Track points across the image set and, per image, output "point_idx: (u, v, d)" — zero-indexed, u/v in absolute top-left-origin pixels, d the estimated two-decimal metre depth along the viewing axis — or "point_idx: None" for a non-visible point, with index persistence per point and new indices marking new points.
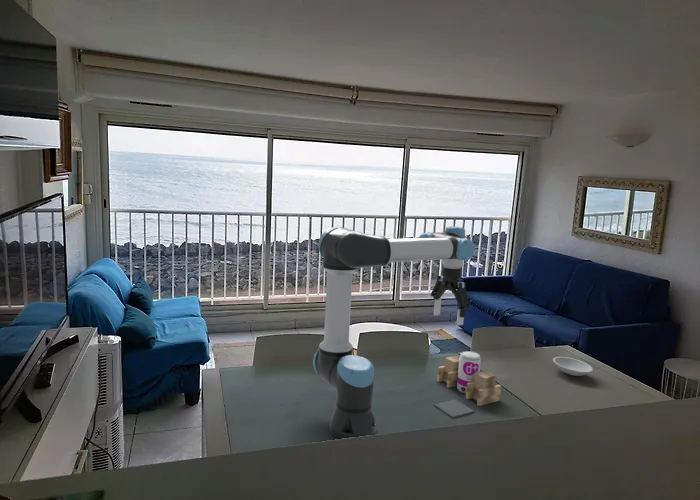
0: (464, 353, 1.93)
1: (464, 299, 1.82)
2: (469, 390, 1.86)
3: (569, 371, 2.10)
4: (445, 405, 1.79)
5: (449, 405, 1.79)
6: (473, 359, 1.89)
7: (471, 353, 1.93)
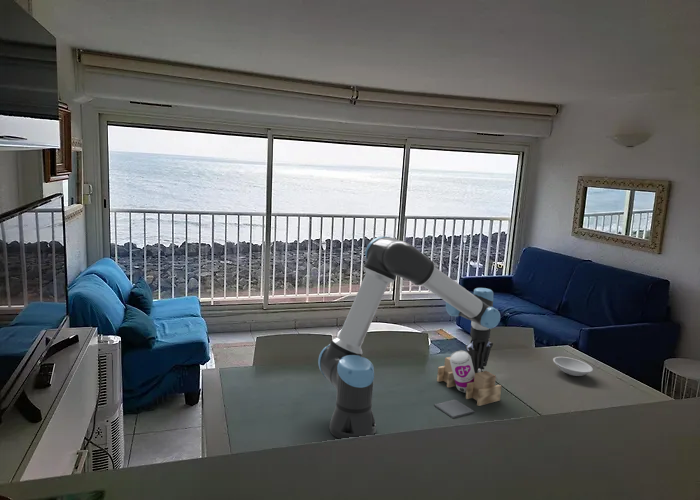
0: (453, 356, 1.90)
1: None
2: (469, 390, 1.86)
3: (569, 371, 2.10)
4: (445, 405, 1.79)
5: (449, 405, 1.79)
6: (462, 362, 1.85)
7: (460, 354, 1.90)
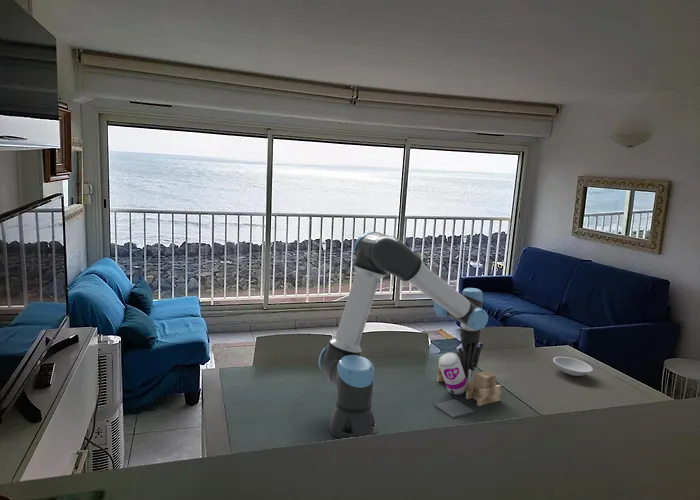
0: (442, 358, 1.87)
1: None
2: (469, 390, 1.86)
3: (569, 371, 2.10)
4: (445, 405, 1.79)
5: (449, 405, 1.79)
6: (450, 365, 1.83)
7: (448, 356, 1.87)
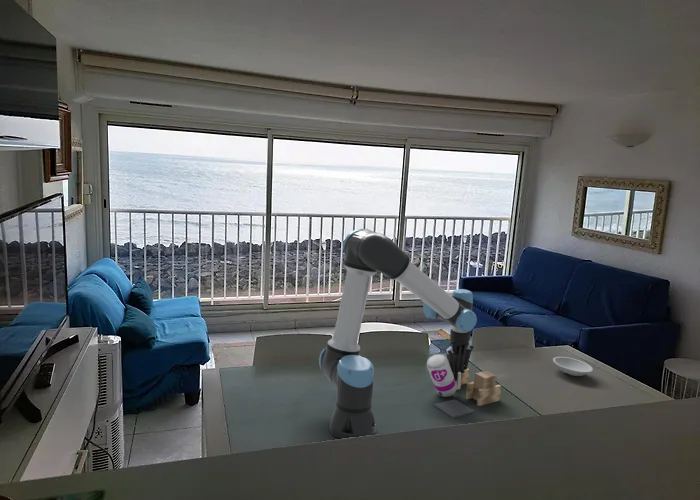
0: (430, 359, 1.85)
1: None
2: (469, 390, 1.86)
3: (569, 371, 2.10)
4: (445, 405, 1.79)
5: (449, 405, 1.79)
6: (437, 366, 1.81)
7: (437, 357, 1.85)
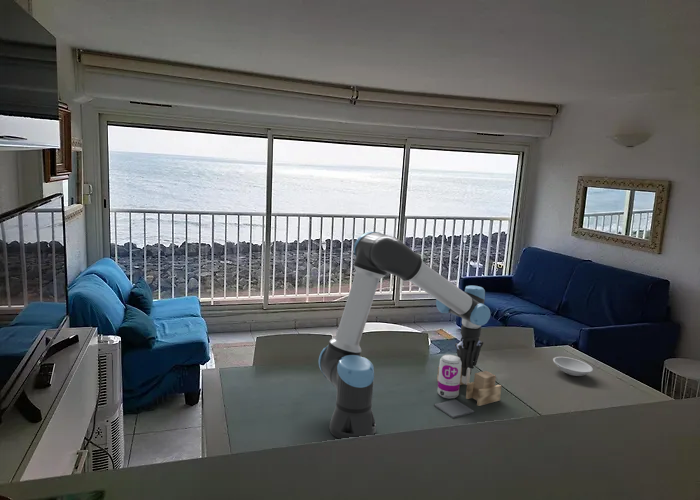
0: (445, 356, 1.89)
1: None
2: (469, 390, 1.86)
3: (569, 371, 2.10)
4: (445, 405, 1.79)
5: (449, 405, 1.79)
6: (452, 363, 1.84)
7: (452, 357, 1.88)
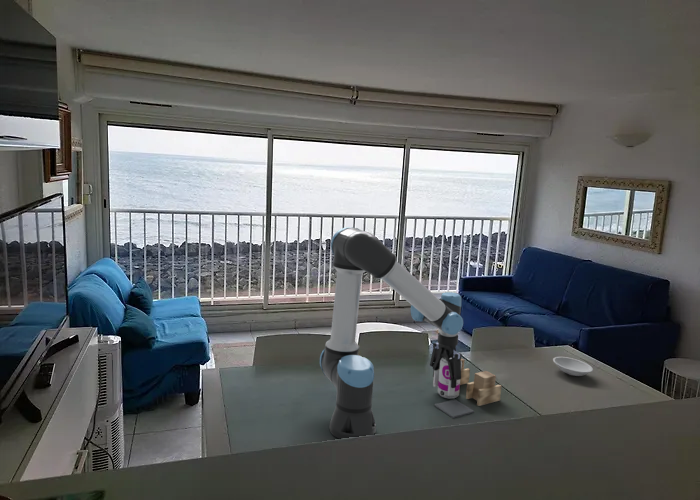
0: None
1: (457, 371, 1.80)
2: (469, 390, 1.86)
3: (569, 371, 2.10)
4: (445, 405, 1.79)
5: (449, 405, 1.79)
6: None
7: None
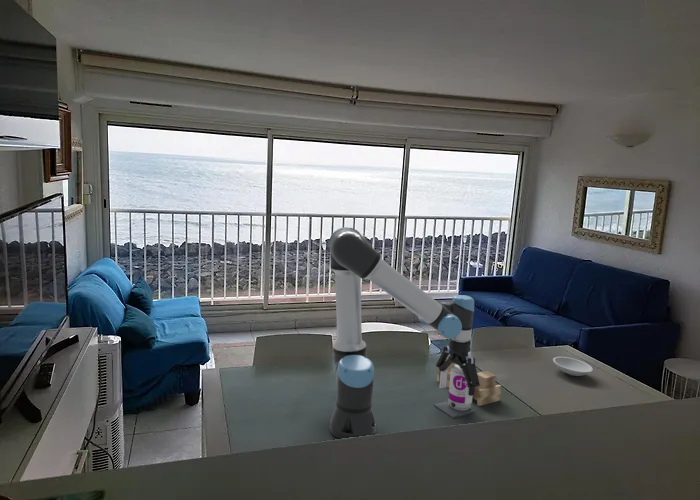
0: (456, 365, 1.78)
1: (473, 377, 1.67)
2: None
3: (569, 371, 2.10)
4: (445, 405, 1.79)
5: (449, 405, 1.79)
6: (463, 373, 1.73)
7: None
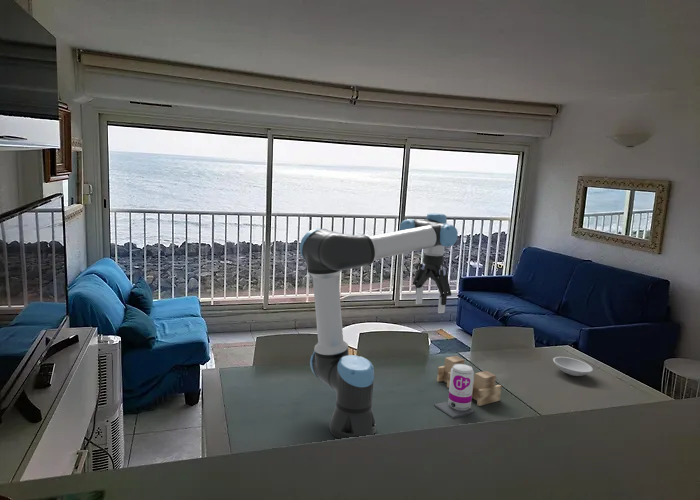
0: (456, 366, 1.78)
1: (445, 286, 1.80)
2: None
3: (569, 371, 2.10)
4: (445, 405, 1.79)
5: (449, 405, 1.79)
6: (464, 373, 1.73)
7: (463, 366, 1.78)
